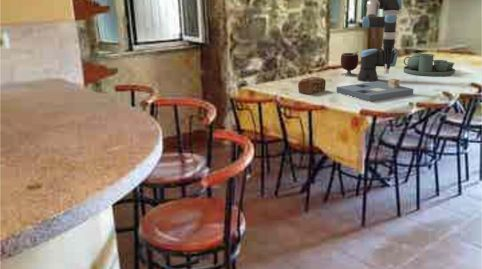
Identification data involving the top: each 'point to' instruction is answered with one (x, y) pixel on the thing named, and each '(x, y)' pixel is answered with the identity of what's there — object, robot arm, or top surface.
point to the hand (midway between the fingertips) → (386, 73)
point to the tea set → (428, 66)
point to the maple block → (394, 83)
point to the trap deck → (374, 91)
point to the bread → (311, 85)
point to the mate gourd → (349, 63)
